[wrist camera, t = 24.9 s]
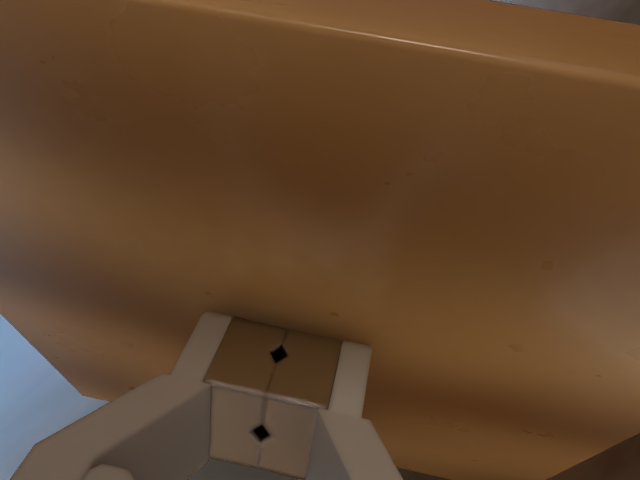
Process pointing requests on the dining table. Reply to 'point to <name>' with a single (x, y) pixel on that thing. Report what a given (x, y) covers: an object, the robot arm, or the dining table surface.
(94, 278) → the lid
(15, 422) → the dining table surface
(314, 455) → the robot arm
